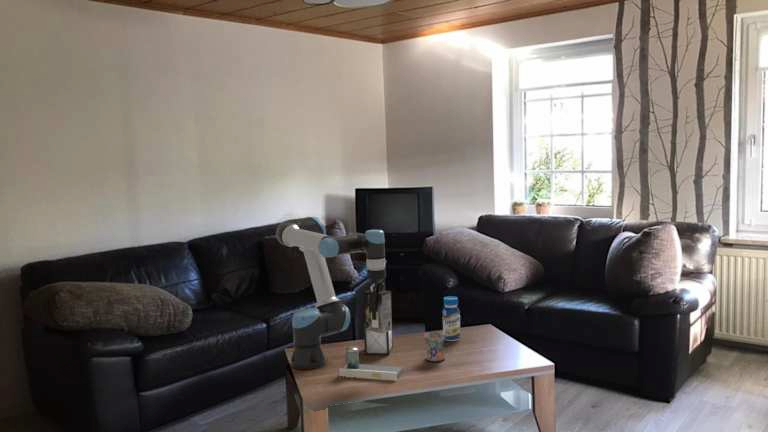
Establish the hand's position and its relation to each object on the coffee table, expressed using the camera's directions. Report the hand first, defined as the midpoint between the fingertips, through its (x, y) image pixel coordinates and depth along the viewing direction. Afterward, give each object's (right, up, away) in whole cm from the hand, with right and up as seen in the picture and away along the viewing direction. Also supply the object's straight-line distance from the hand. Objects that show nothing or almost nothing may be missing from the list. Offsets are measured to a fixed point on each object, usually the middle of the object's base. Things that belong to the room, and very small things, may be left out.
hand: (378, 324), depth 246 cm
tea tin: (-11, -19, +6) cm, 22 cm away
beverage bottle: (+34, -15, +45) cm, 58 cm away
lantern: (0, -18, +32) cm, 36 cm away
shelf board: (-3, -21, +3) cm, 21 cm away
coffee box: (0, -3, 0) cm, 3 cm away
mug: (+24, -18, +19) cm, 36 cm away
